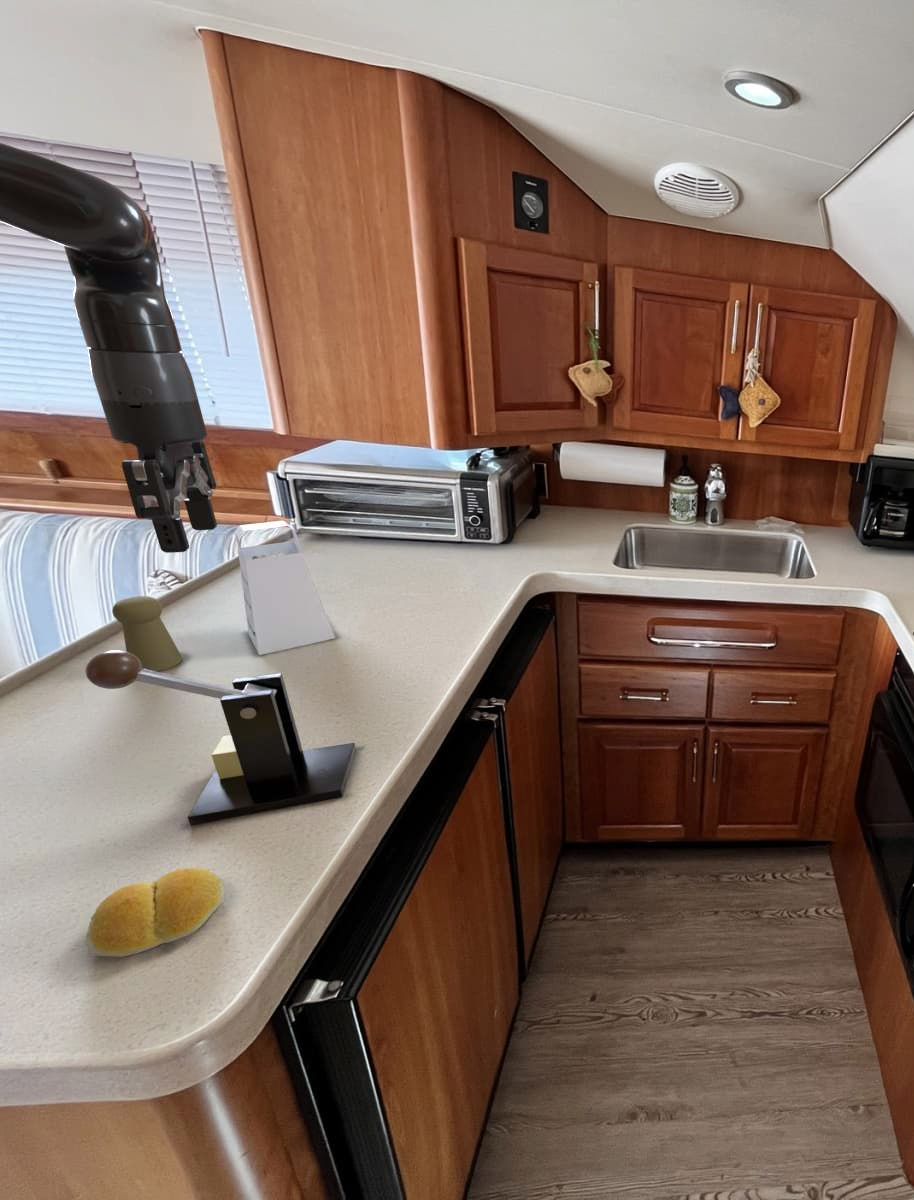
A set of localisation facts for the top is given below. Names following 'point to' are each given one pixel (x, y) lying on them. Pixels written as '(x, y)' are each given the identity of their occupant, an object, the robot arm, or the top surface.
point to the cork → (146, 633)
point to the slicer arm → (151, 676)
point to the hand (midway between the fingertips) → (191, 539)
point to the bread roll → (154, 912)
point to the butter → (226, 759)
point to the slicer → (270, 759)
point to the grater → (280, 595)
